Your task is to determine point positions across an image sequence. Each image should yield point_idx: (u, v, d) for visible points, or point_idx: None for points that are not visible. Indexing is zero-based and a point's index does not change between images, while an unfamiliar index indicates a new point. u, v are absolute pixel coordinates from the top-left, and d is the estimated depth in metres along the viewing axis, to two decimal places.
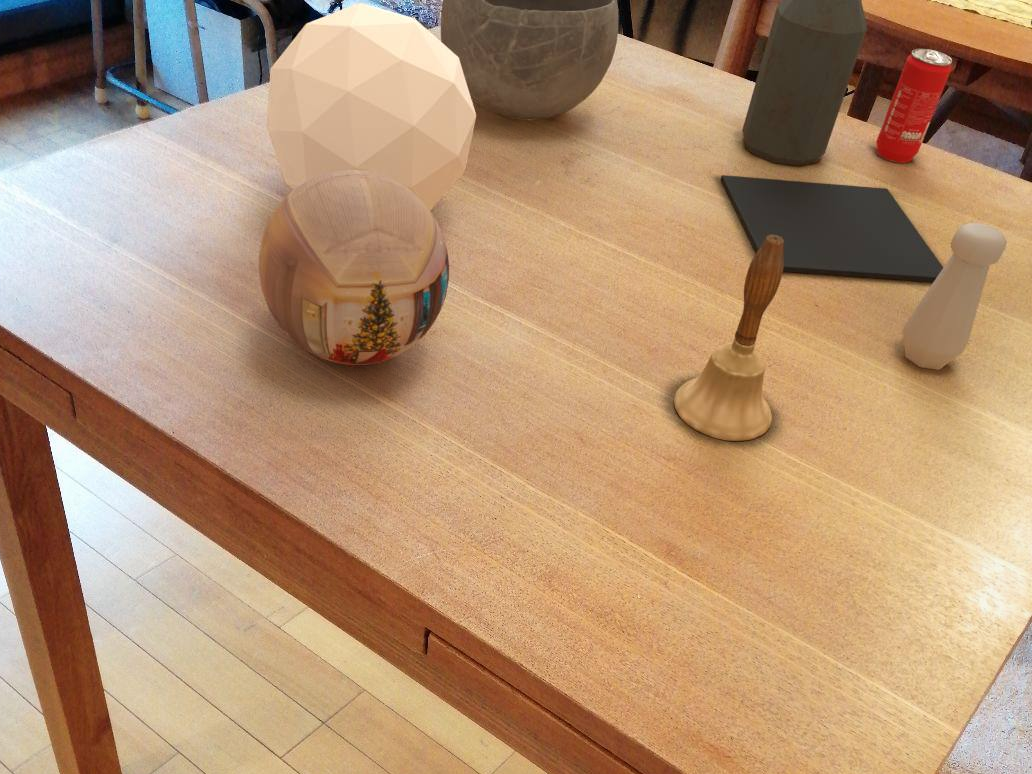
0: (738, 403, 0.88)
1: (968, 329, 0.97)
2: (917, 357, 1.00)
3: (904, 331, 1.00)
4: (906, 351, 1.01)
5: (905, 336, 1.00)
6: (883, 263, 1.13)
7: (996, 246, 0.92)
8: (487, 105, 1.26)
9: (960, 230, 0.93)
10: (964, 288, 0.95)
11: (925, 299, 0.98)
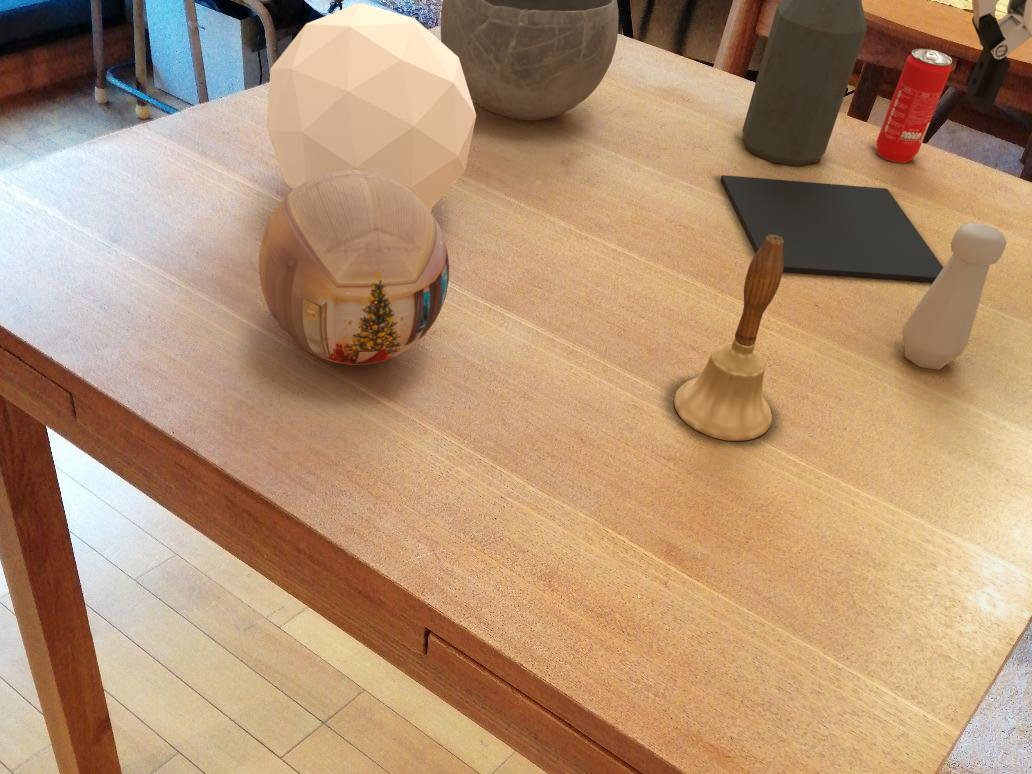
0: (738, 403, 0.88)
1: (968, 329, 0.97)
2: (917, 357, 1.00)
3: (904, 331, 1.00)
4: (906, 351, 1.01)
5: (905, 336, 1.00)
6: (883, 263, 1.13)
7: (996, 246, 0.92)
8: (487, 105, 1.26)
9: (960, 230, 0.93)
10: (964, 288, 0.95)
11: (925, 299, 0.98)
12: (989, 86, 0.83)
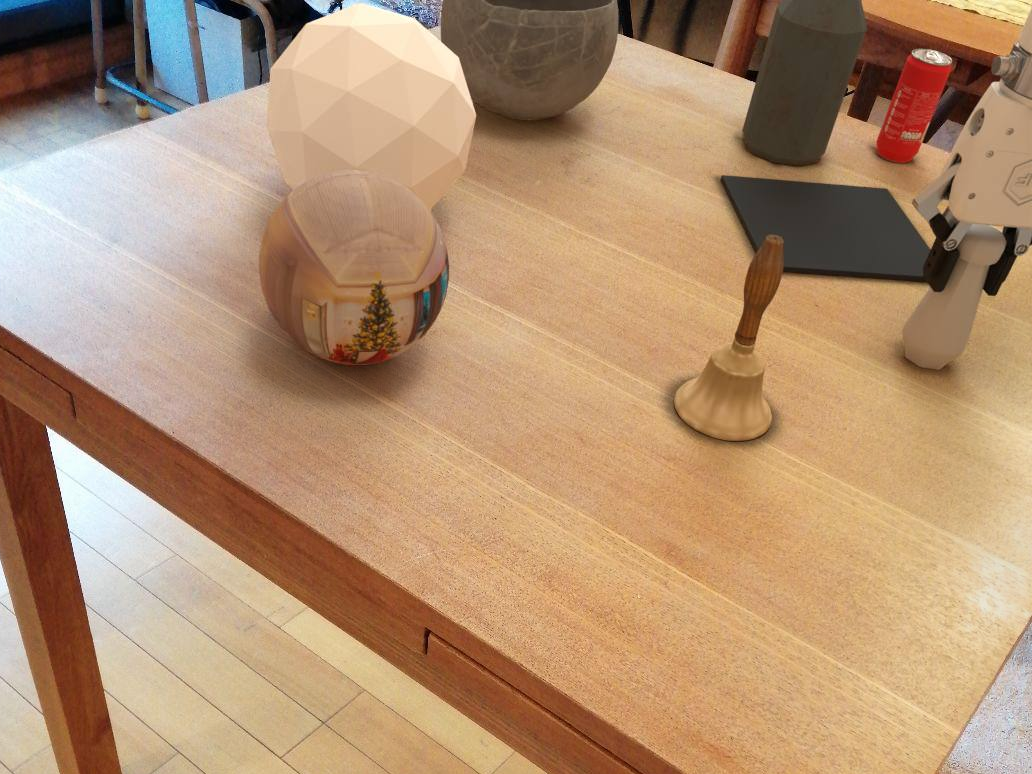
0: (738, 403, 0.88)
1: (968, 329, 0.97)
2: (917, 357, 1.00)
3: (904, 331, 1.00)
4: (906, 351, 1.01)
5: (905, 336, 1.00)
6: (883, 263, 1.13)
7: (995, 246, 0.92)
8: (487, 105, 1.26)
9: None
10: (964, 288, 0.95)
11: (925, 299, 0.98)
12: (942, 271, 0.94)
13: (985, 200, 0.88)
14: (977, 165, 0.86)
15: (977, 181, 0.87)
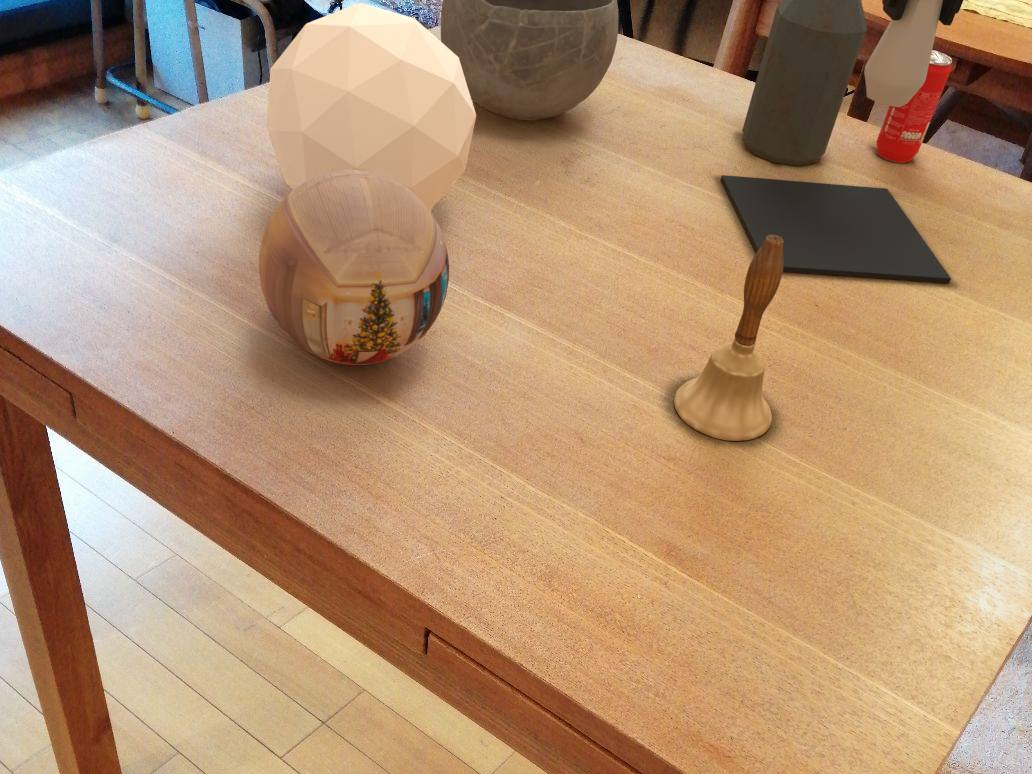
0: (738, 403, 0.88)
1: (925, 61, 1.03)
2: (878, 94, 1.05)
3: (865, 70, 1.05)
4: (868, 90, 1.06)
5: (866, 73, 1.05)
6: (883, 263, 1.13)
7: None
8: (487, 105, 1.26)
9: None
10: (920, 15, 1.00)
11: (884, 34, 1.03)
12: None
13: None
14: None
15: None
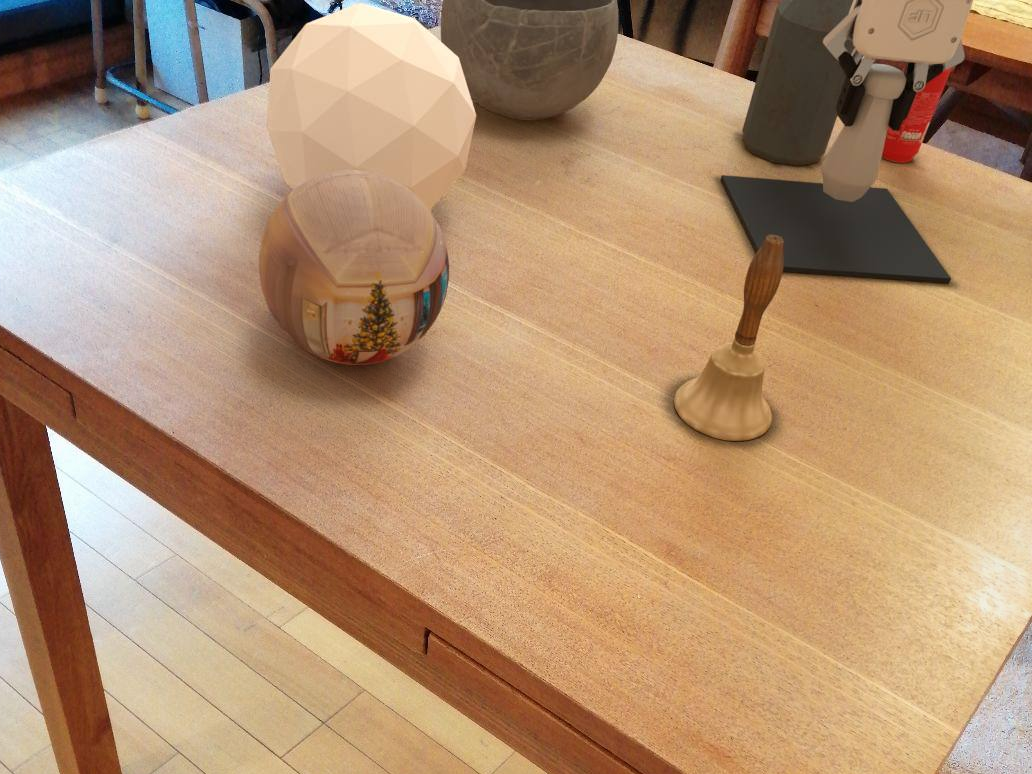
0: (738, 403, 0.88)
1: (876, 162, 1.11)
2: (833, 190, 1.14)
3: (822, 167, 1.14)
4: (824, 186, 1.15)
5: (823, 171, 1.14)
6: (883, 263, 1.13)
7: (896, 81, 1.06)
8: (487, 105, 1.26)
9: None
10: (870, 122, 1.09)
11: (839, 136, 1.12)
12: (851, 106, 1.08)
13: (883, 35, 1.02)
14: (874, 1, 1.00)
15: (875, 16, 1.01)
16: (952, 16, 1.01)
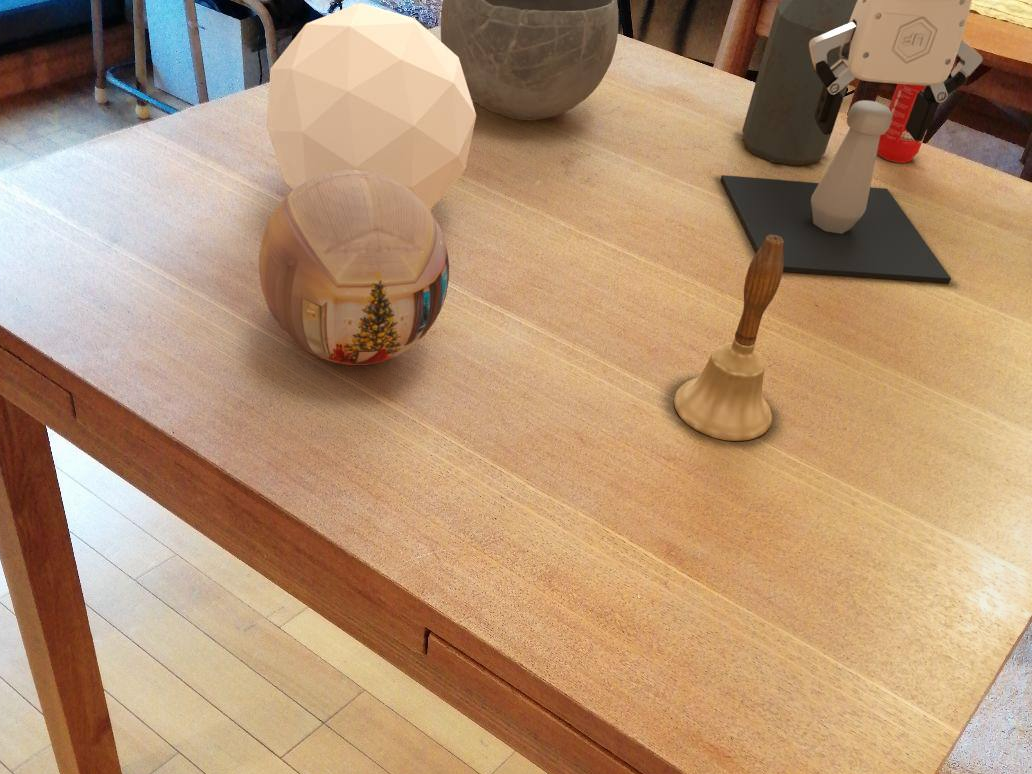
0: (738, 403, 0.88)
1: (864, 195, 1.14)
2: (823, 222, 1.16)
3: (811, 200, 1.17)
4: (814, 218, 1.17)
5: (812, 204, 1.16)
6: (883, 263, 1.13)
7: (882, 118, 1.08)
8: (487, 105, 1.26)
9: (853, 106, 1.10)
10: (858, 157, 1.11)
11: (827, 170, 1.14)
12: (829, 114, 1.08)
13: (877, 58, 1.03)
14: (868, 26, 1.01)
15: (869, 41, 1.02)
16: (946, 39, 1.02)
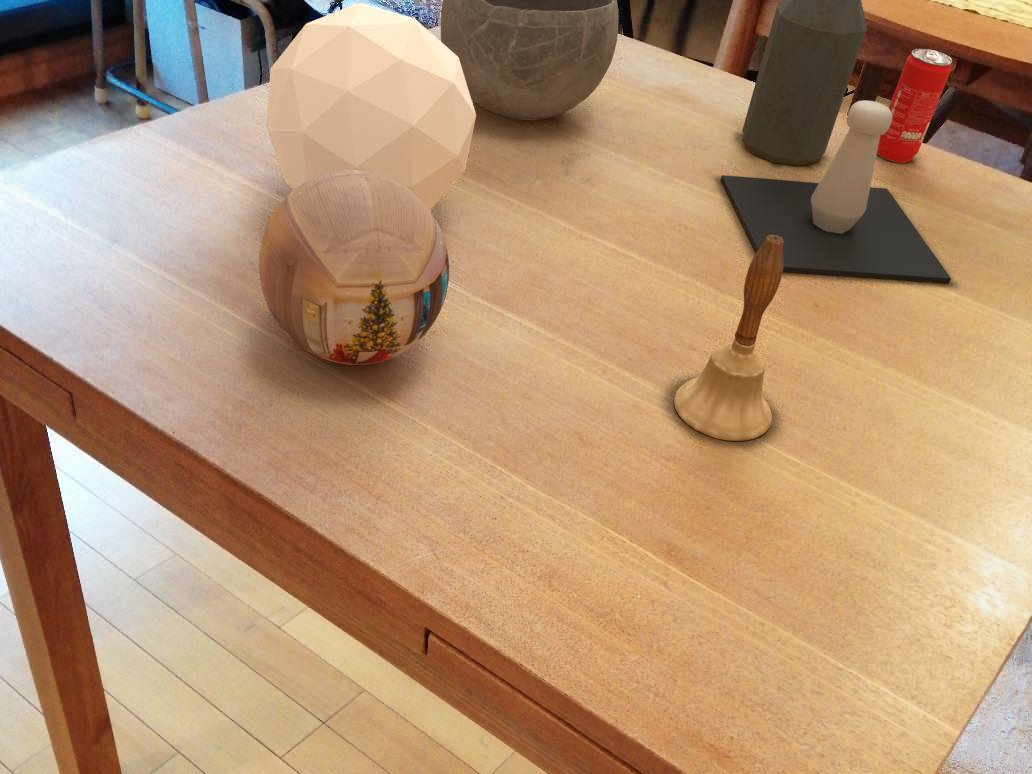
0: (738, 403, 0.88)
1: (864, 195, 1.14)
2: (823, 222, 1.16)
3: (811, 200, 1.17)
4: (814, 218, 1.17)
5: (812, 204, 1.16)
6: (883, 263, 1.13)
7: (882, 118, 1.08)
8: (487, 105, 1.26)
9: (853, 106, 1.10)
10: (858, 157, 1.11)
11: (827, 170, 1.14)
12: None
13: None
14: None
15: None
16: None
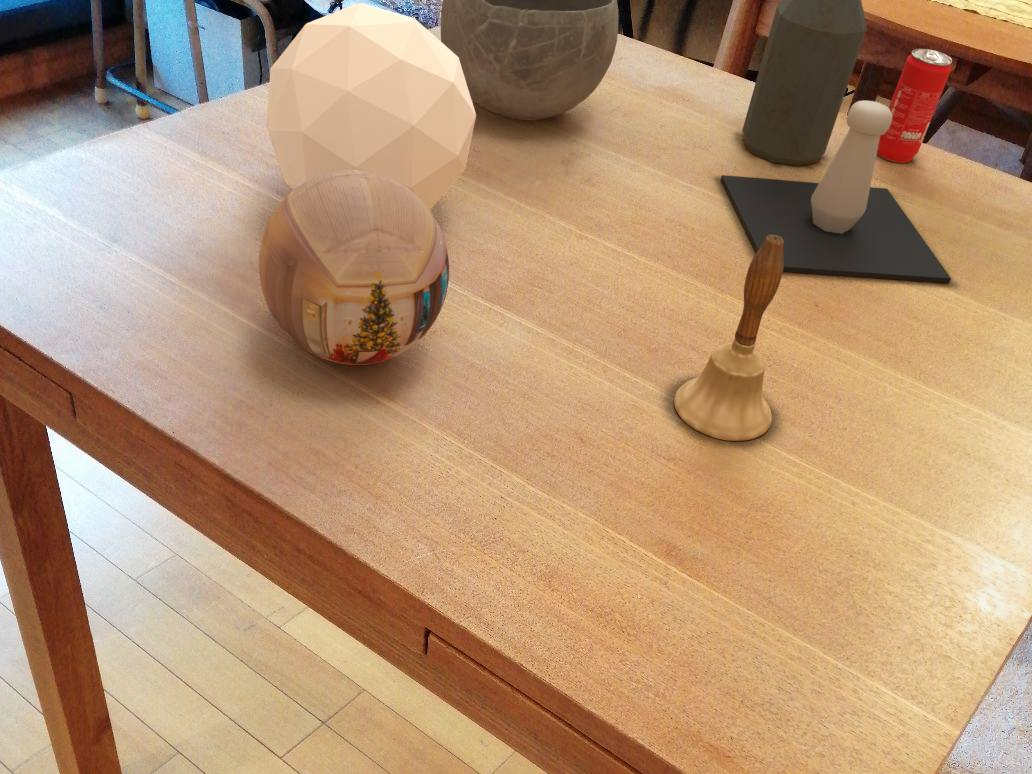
0: (738, 403, 0.88)
1: (864, 195, 1.14)
2: (823, 222, 1.16)
3: (811, 200, 1.17)
4: (814, 218, 1.17)
5: (812, 204, 1.16)
6: (883, 263, 1.13)
7: (882, 118, 1.08)
8: (487, 105, 1.26)
9: (853, 106, 1.10)
10: (858, 157, 1.11)
11: (827, 170, 1.14)
12: None
13: None
14: None
15: None
16: None
